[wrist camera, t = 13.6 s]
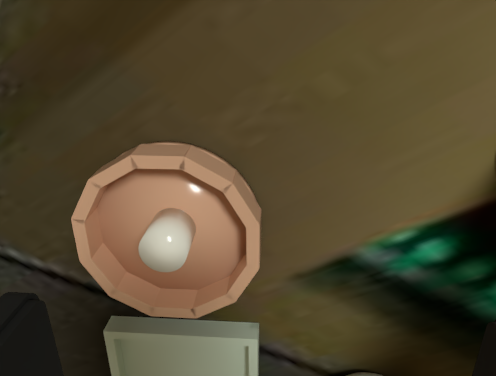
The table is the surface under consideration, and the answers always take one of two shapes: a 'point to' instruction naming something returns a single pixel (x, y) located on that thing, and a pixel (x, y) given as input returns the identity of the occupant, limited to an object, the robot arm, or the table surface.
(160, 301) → the bowl
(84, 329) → the table surface
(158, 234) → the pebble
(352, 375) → the spoon rest
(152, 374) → the tray
